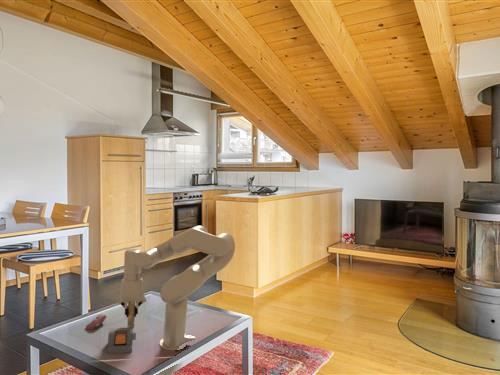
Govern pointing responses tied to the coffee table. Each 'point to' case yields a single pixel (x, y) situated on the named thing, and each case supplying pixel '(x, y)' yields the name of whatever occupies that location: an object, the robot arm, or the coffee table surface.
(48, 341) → the coffee table surface
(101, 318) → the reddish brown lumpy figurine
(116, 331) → the switch box
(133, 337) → the mat
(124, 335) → the button
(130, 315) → the stylus
